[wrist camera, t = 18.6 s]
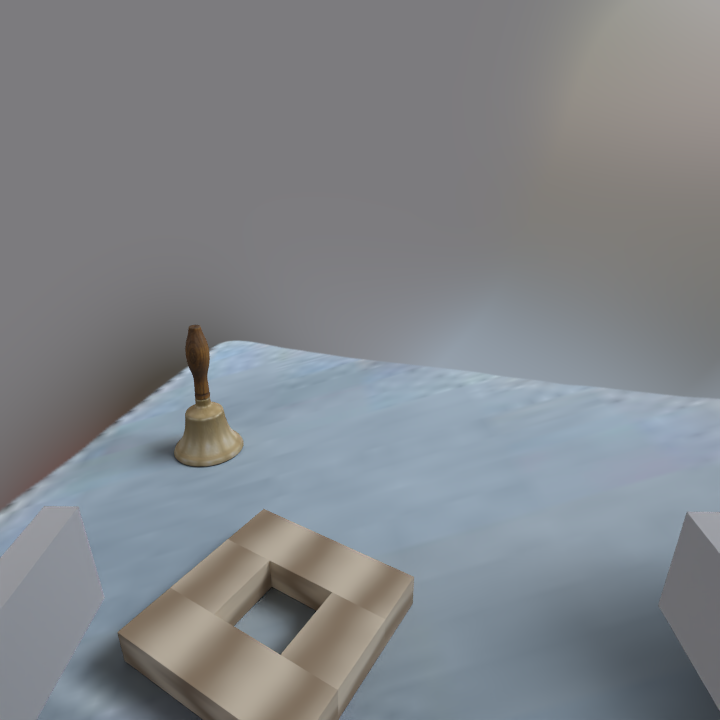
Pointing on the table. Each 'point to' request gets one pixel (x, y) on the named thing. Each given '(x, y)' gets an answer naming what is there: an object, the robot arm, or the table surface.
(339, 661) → the frame
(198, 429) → the hand bell
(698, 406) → the table surface
